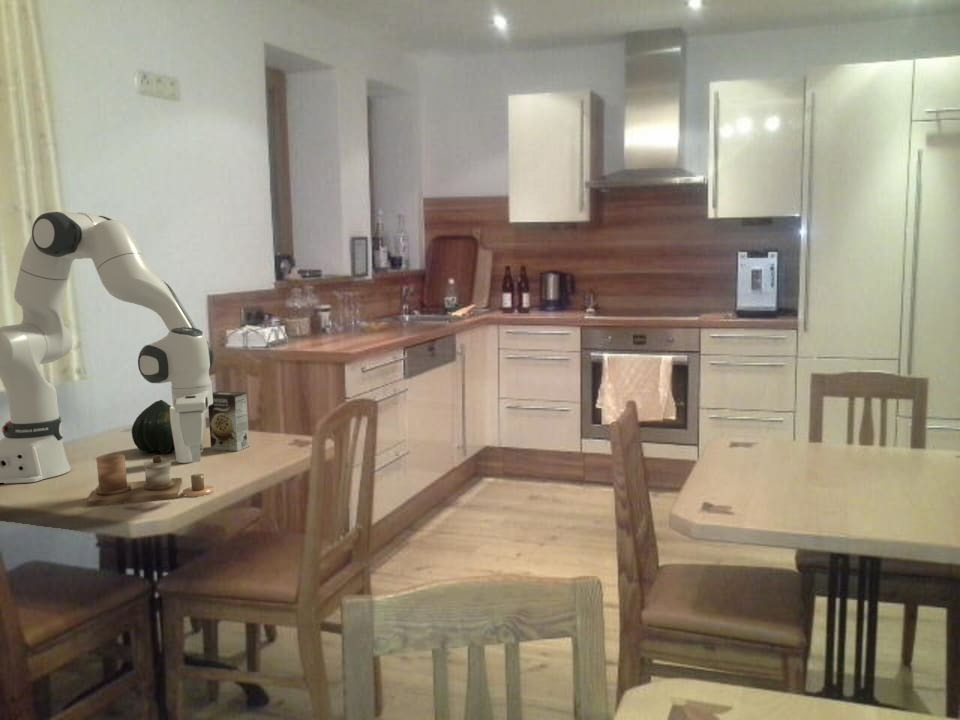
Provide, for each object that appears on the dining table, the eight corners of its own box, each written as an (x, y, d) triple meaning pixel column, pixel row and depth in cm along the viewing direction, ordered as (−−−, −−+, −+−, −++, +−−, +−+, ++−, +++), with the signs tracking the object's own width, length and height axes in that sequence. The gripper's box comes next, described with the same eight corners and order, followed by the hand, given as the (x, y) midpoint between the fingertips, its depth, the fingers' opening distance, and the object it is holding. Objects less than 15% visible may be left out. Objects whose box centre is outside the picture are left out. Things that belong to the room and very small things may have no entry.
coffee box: (209, 450, 245) (206, 394, 242) (223, 444, 251) (219, 390, 249) (237, 451, 242) (233, 394, 240) (250, 446, 248) (247, 391, 246)
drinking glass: (204, 458, 235) (200, 404, 233) (193, 464, 228) (189, 408, 226) (180, 458, 236) (176, 404, 234) (168, 464, 229) (164, 409, 227)
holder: (87, 506, 193) (83, 466, 192) (98, 489, 206) (95, 452, 205) (177, 498, 198) (174, 458, 196) (182, 482, 211) (179, 445, 210)
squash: (144, 441, 232) (172, 394, 239) (113, 438, 241) (140, 392, 248) (181, 467, 242) (207, 421, 249) (150, 462, 251) (175, 418, 258)
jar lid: (182, 499, 197) (180, 480, 197) (184, 491, 204) (183, 473, 203) (213, 496, 199) (211, 477, 199) (214, 488, 206) (213, 470, 205)
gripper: (181, 392, 208) (186, 448, 210) (174, 406, 188) (180, 468, 190) (209, 390, 209) (213, 446, 211) (204, 404, 190) (209, 465, 192)
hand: (197, 456), depth 200 cm, fingers open, 8 cm apart
